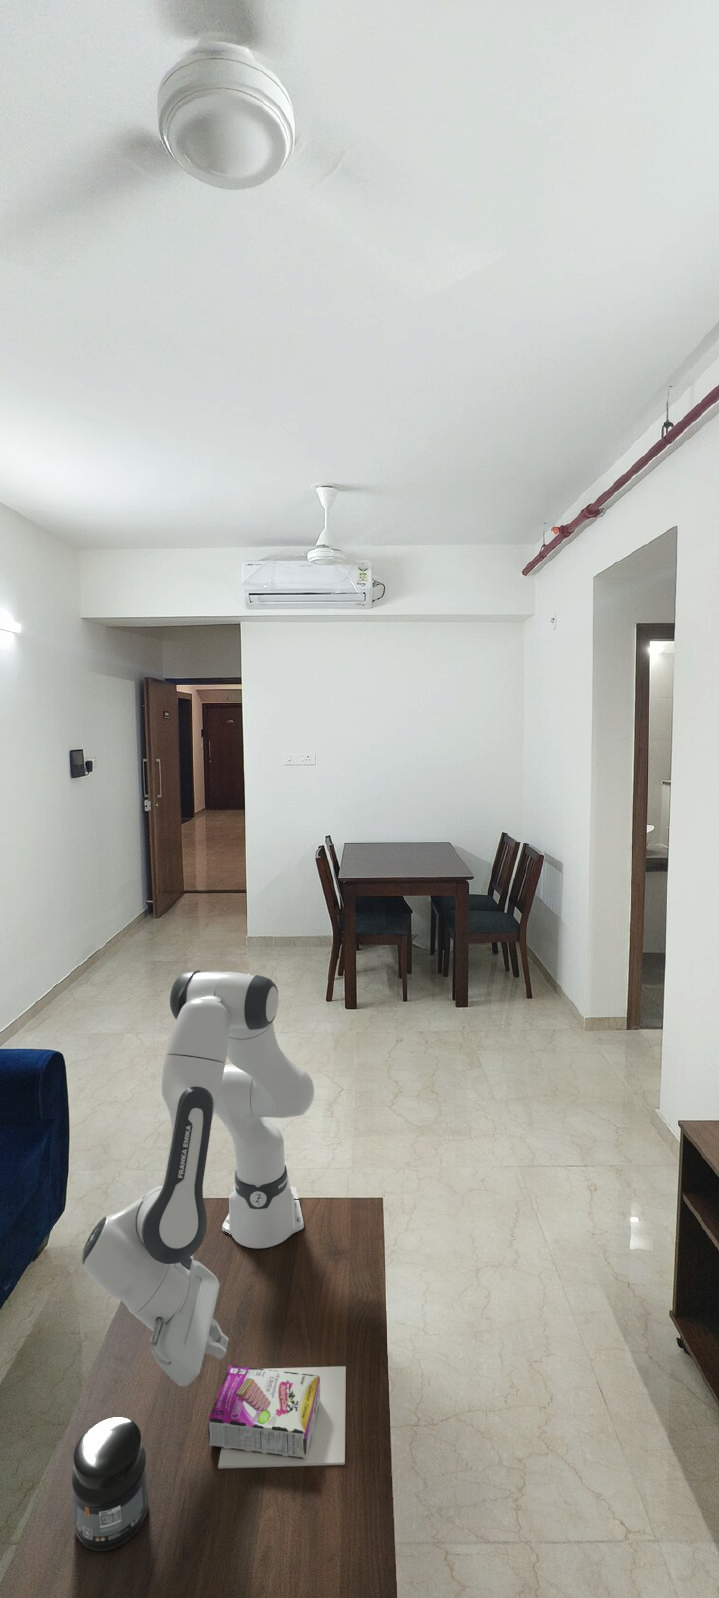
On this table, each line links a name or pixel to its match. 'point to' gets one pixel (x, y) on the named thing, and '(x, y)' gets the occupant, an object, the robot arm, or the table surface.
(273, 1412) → the candy bar box
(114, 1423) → the supplement container
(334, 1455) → the mat
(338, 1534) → the table surface
